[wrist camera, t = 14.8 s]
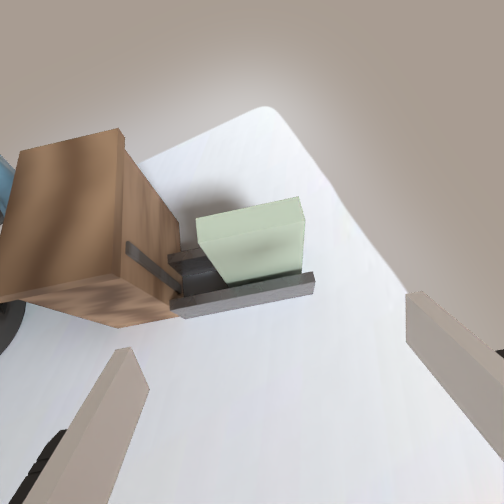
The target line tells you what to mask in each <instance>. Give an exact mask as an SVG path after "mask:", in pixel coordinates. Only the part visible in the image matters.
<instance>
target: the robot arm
mask: <svg viewBox="0 0 504 504" xmlns="http://www.w3.org/2000/svg"><path fill="white" fill-rule="evenodd" d="M15 171H16V170H15V169H13V167H12V166H11V165H10V164H9V163H8V162H7V161H6V160H5V159H4V158H3V157H2V156H1V155H0V225H1V224H3V222H4V217H5V213H6V209H7V205H8V200H9V196H10V192H11V188H12V183H13V179H14V175H15ZM24 310H25V301H22V300H19V299H18V300H14V301H9V302H4V303H0V355H1V354H2V352H3V351H4V350H5V349H6V348H7V347H8V345H9V344H10V342H11V341H12V339H13V338H14V336H15V334H16V333H17V331H18V329H19V326H20V324H21V321H22V318H23V315H24ZM406 343H407V344H408V345H409V346H410V348H411V349H412V350H413V351H414V353H415V354H416V355H417V356H418V358H419V359H420V360H421V361H422V362H423V364H424V365H425V366H426V367H427V369H428V370H429V371H430V372H431V373H432V375H433V376H434V377H435V378H436V380H437V381H438V382H439V383H440V384H441V386H442V387H443V388H444V389H445V391H446V392H447V393H448V394H449V395H450V397H451V398H452V399H453V400H454V402H455V403H456V404H457V405H458V406H459V408H460V409H461V410H462V411H463V413H464V414H465V415H466V416H467V418H468V419H469V420H470V421H471V422H472V424H473V425H474V426H475V427H476V429H477V430H478V431H479V432H480V433H481V435H482V436H483V437H484V438H485V440H486V441H487V442H488V443H489V444H490V446H491V447H492V448H493V449H494V451H495V452H496V453H497V454H498V455H499V457H500V458H501V459H502V460H503V462H504V349H503V350H497V351H494V350H493V349H491V348H490V347H489V346H488V345H487V344H485V343H484V342H483V341H482V340H481V339H479V338H478V337H477V336H476V335H475V334H473V333H472V332H471V331H470V330H468V329H467V328H466V327H465V326H464V325H463V324H461V323H460V322H459V321H458V320H457V319H455V318H454V317H453V316H451V315H450V314H449V313H448V312H447V311H446V310H444V309H443V308H442V307H441V306H440V305H438V304H437V303H436V302H435V301H434V300H432V299H431V298H430V297H429V296H428V295H426V294H425V293H424V292H423V291H420V292H415V293H409V294H406ZM149 390H150V389H149V386H148V384H147V382H146V380H145V377H144V375H143V373H142V371H141V368H140V366H139V364H138V362H137V359H136V357H135V355H134V353H133V350H132V348H131V347H127V348H122V349H117V350H115V352H114V353H113V355H112V357H111V358H110V360H109V362H108V363H107V365H106V367H105V368H104V370H103V371H102V373H101V375H100V376H99V378H98V380H97V381H96V383H95V385H94V386H93V388H92V390H91V391H90V393H89V395H88V396H87V398H86V400H85V401H84V403H83V404H82V406H81V408H80V409H79V411H78V413H77V414H76V416H75V418H74V419H73V421H72V423H71V424H70V426H69V428H68V429H65V430H60V431H59V432H58V433H57V434H56V435H55V436H54V437H53V438H52V439H51V440H50V442H49V443H48V444H47V445H46V446H45V448H44V449H43V451H42V452H41V454H40V456H39V457H38V459H37V462H36V463H34V465H33V466H32V468H31V469H30V471H29V473H28V476H26V477H25V479H24V480H23V482H22V483H21V485H20V487H19V488H18V490H17V491H16V493H15V494H14V496H13V497H12V499H11V501H10V502H9V504H107V503H108V501H109V498H110V495H111V493H112V490H113V487H114V485H115V482H116V479H117V477H118V474H119V471H120V468H121V466H122V463H123V460H124V458H125V455H126V452H127V450H128V447H129V444H130V441H131V439H132V436H133V433H134V431H135V428H136V425H137V423H138V420H139V417H140V415H141V412H142V409H143V406H144V404H145V401H146V398H147V396H148V393H149Z"/></svg>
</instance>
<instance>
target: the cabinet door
mask: <svg viewBox="0 0 504 504" xmlns="http://www.w3.org/2000/svg"><path fill="white" fill-rule="evenodd" d="M196 229H197V239H198V244H199V245H200V247H201V248H202V250H203V251H204V252H205V254H206V255H207V257H208V258H209V260H210V261H211V262H212V264H213V265H214V267H215V268H216V269H217V271H218V272H219V274H220V275H221V277H222V278H223V279H224V281H225V282H226V284H227V285H228V287H229V288H233V287H238V286H243V285H248V284H253V283H258V282H263V281H268V280H273V279H278V278H283V277H288V276H293V275H298V274H301V272H302V259H303V245H304V231H305V218H304V214H303V210H302V207H301V203H300V200H299V196H298V197H293V198H289V199H284V200H279V201H275V202H270V203H265V204H261V205H256V206H251V207H247V208H242V209H237V210H233V211H228V212H223V213H218V214H214V215H209V216H204V217H200V218H196Z"/></svg>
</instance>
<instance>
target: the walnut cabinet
mask: <svg viewBox="0 0 504 504" xmlns="http://www.w3.org/2000/svg"><path fill="white" fill-rule="evenodd" d="M177 252H181V250H180V234H179V222H178V221H177V220H176V218H175V217H174V216H173V214H172V213H171V211H170V210H169V209H168V207H167V206H166V205H165V203H164V202H163V201H162V199H161V198H160V196H159V195H158V194H157V192H156V191H155V190H154V188H153V187H152V186H151V184H150V183H149V181H148V180H147V179H146V177H145V176H144V175H143V173H142V172H141V170H140V169H139V168H138V166H137V165H136V164H135V162H134V161H133V160H132V158H131V157H130V156H129V154H128V153H127V151H126V150H125V137H124V136H123V134H122V133H121V131H120V130H119V128H116V129H112V130H108V131H104V132H99V133H95V134H91V135H86V136H82V137H78V138H74V139H70V140H65V141H61V142H57V143H53V144H48V145H44V146H40V147H36V148H31V149H27V150H23V151H20V154H19V158H18V162H17V167H16V171H15V175H14V179H13V183H12V188H11V192H10V196H9V200H8V205H7V209H6V213H5V217H4V222H3V226H2V230H1V234H0V303H4V302H9V301H14V300H18V299H19V300H22V301H25V302H29V303H32V304H36V305H39V306H43V307H46V308H49V309H53V310H56V311H60V312H63V313H67V314H70V315H73V316H77V317H80V318H84V319H87V320H91V321H94V322H97V323H101V324H104V325H108V326H111V327H115V328H123V327H128V326H133V325H138V324H143V323H148V322H153V321H158V320H163V319H168V318H174V317H179V315H177V314H175V313H173V312H171V311H170V305H169V300H173V299H178V298H183V297H184V296H183V280H182V276H181V275H180V274H179V273H177V272H176V271H175V270H174V269H173V268H172V267H171V266H170V265H169V264H168V259H167V255H168V254H173V253H177Z"/></svg>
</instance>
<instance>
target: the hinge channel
mask: <svg viewBox="0 0 504 504" xmlns="http://www.w3.org/2000/svg"><path fill="white" fill-rule="evenodd" d="M167 259H168V264H169V265H170V266H171V267H172V268H173V269H174V270H175V271H176V272H177V273H179V274H180V275H181V276H182V277H185V276H189V275H194V274H199V273H204V272H209V271H214V270H217V269H216V268H215V267H214V265H213V264H212V262H211V261H210V260H209V258H208V257H207V255H206V254H205V252H204V251H203V250H202V248H196V249H192V250H187V251H182V252H177V253H173V254H168V255H167ZM314 286H315V278H314V275H313V271H312V272H308V273H303V274H298V275H293V276H288V277H283V278H278V279H273V280H268V281H263V282H258V283H253V284H248V285H243V286H238V287H233V288H228V289H223V290H218V291H213V292H208V293H203V294H198V295H193V296H188V297H183V298H178V299H173V300H169V305H170V311H171V312H173V313H175V314H177V315H179V316H180V317H182V318H184V319H188V318H193V317H198V316H203V315H209V314H214V313H219V312H224V311H229V310H234V309H239V308H244V307H249V306H254V305H259V304H264V303H269V302H275V301H280V300H285V299H290V298H295V297H300V296H305V295H310V294H313V290H314Z"/></svg>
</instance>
